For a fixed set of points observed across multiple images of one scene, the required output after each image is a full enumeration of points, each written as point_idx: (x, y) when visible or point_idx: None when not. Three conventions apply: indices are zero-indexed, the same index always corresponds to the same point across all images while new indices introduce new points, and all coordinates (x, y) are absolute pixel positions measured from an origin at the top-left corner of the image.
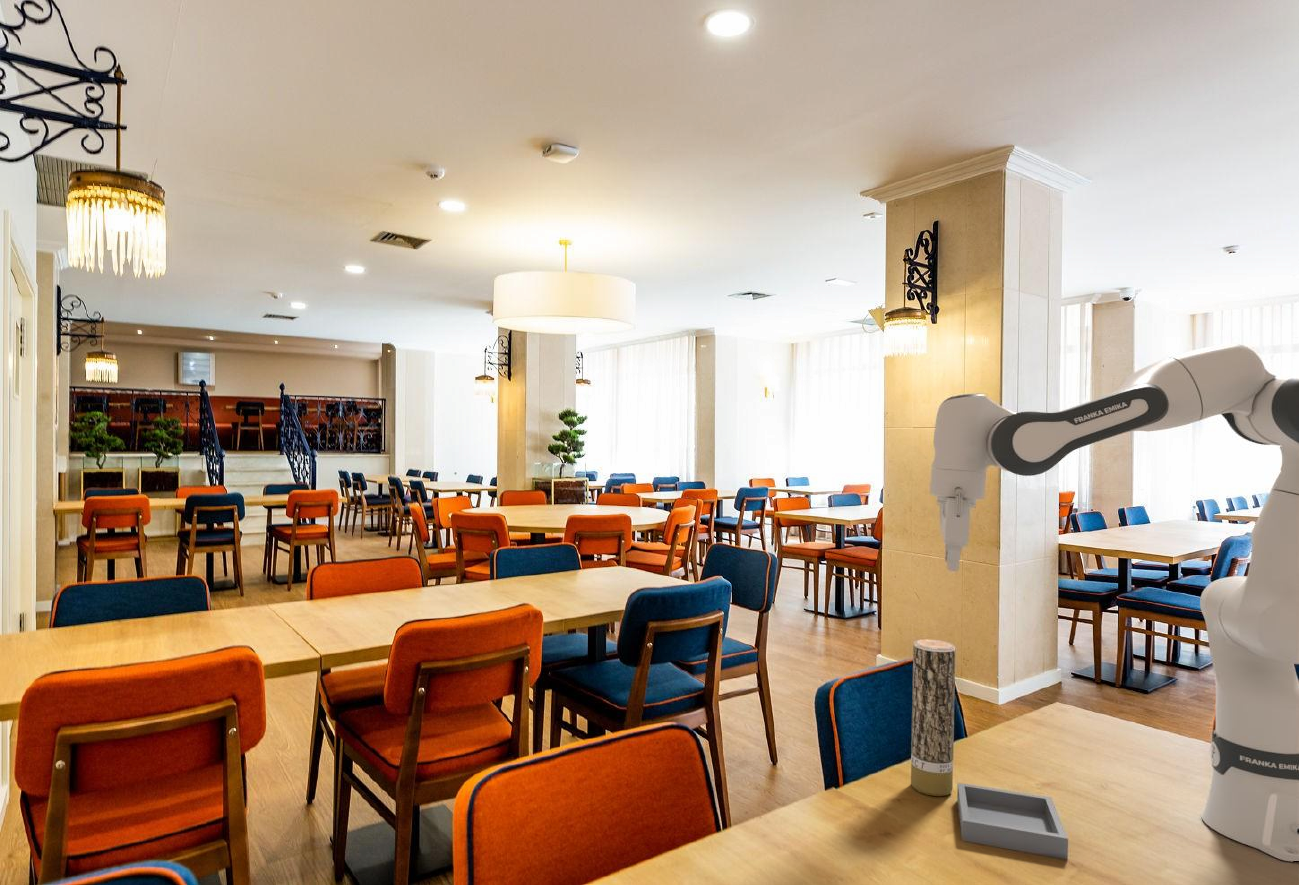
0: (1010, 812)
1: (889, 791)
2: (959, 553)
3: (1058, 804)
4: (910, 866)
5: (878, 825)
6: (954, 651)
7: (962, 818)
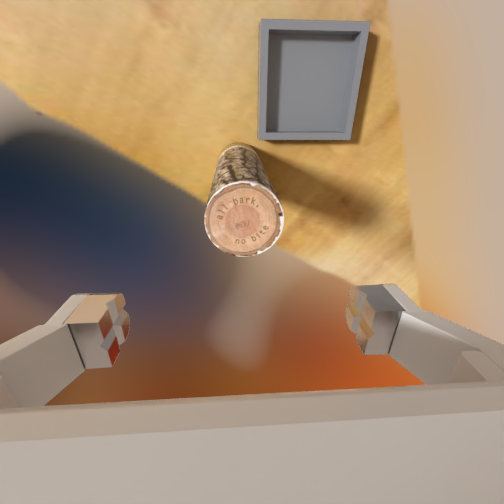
0: (276, 79)
1: None
2: (483, 343)
3: (219, 4)
4: (393, 181)
5: (331, 208)
6: (257, 182)
7: (346, 139)
